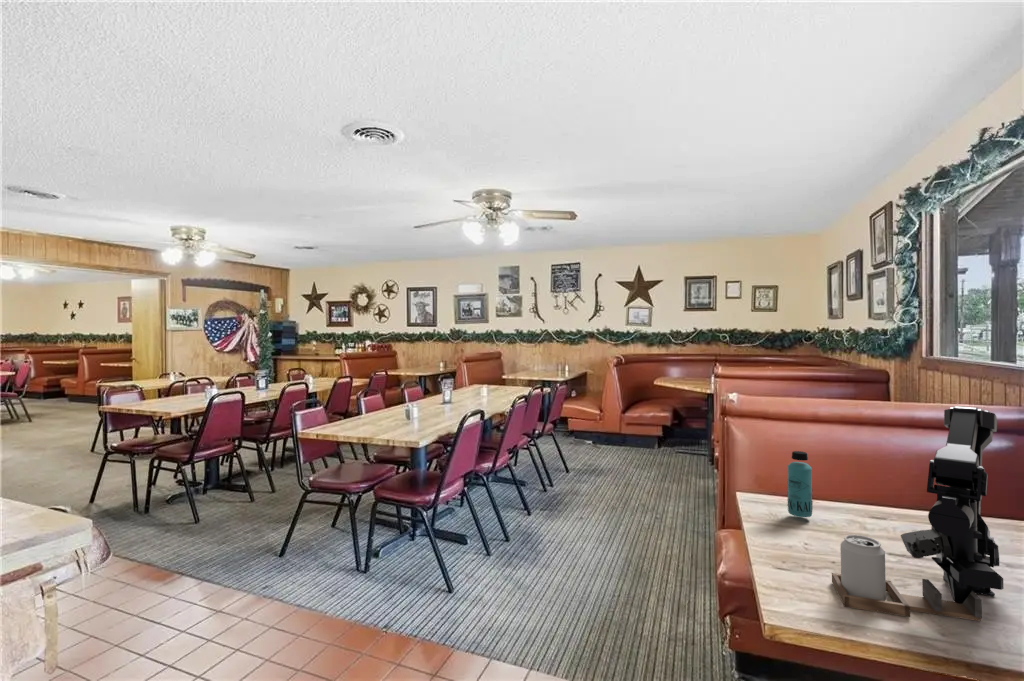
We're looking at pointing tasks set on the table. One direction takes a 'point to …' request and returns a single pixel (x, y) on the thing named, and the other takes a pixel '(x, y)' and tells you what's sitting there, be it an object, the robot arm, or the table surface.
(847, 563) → the can
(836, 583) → the wooden frame
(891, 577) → the table surface
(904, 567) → the table surface
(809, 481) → the beverage bottle
